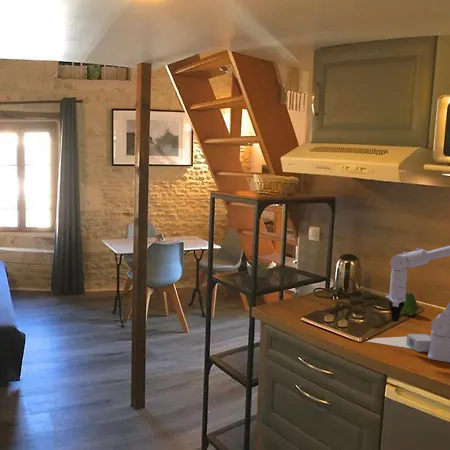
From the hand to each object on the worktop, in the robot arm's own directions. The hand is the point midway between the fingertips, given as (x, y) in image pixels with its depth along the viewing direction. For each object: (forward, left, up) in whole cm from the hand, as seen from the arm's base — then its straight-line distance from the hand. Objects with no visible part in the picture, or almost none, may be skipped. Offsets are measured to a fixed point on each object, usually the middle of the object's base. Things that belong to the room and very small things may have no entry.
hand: (395, 320), depth 192 cm
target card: (+3, -12, -10) cm, 16 cm away
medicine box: (-6, -2, -8) cm, 10 cm away
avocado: (-3, -48, -11) cm, 49 cm away
